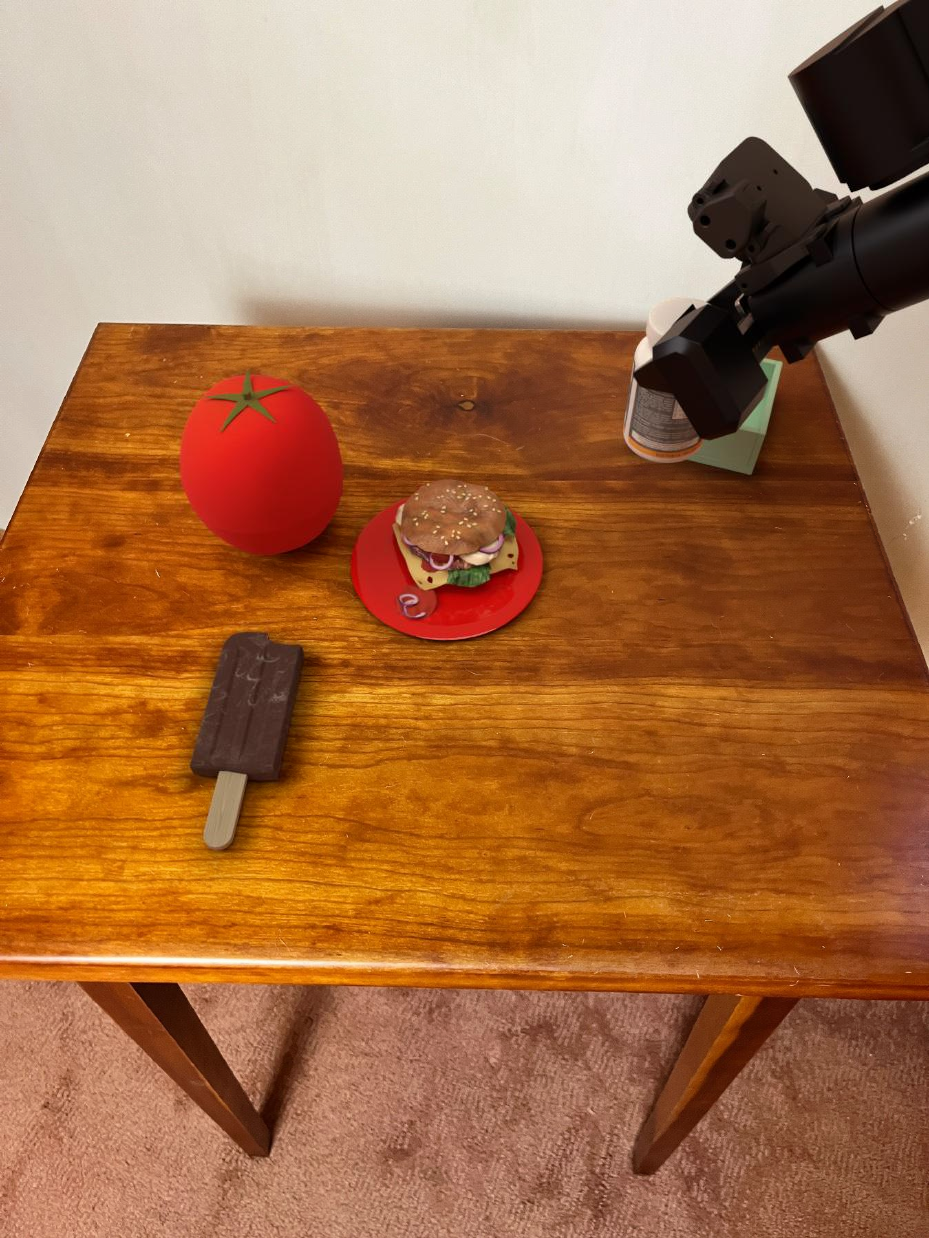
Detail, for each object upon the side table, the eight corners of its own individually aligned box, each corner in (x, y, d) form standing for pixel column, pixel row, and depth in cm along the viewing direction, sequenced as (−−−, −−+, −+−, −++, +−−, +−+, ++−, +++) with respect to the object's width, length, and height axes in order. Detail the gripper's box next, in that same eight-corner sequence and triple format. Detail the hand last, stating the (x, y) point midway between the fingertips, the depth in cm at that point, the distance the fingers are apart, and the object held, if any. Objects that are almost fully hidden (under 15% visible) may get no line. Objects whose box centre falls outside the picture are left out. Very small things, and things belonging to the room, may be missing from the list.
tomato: (343, 590, 65) (319, 460, 55) (193, 585, 66) (141, 456, 55) (360, 477, 72) (342, 342, 62) (224, 473, 72) (183, 338, 62)
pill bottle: (718, 453, 64) (752, 333, 56) (646, 476, 62) (670, 357, 54) (676, 403, 67) (703, 283, 59) (606, 424, 66) (624, 304, 58)
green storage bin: (768, 403, 77) (783, 361, 73) (751, 475, 72) (765, 434, 68) (663, 379, 79) (672, 338, 75) (639, 448, 74) (648, 407, 70)
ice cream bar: (262, 857, 54) (307, 646, 63) (256, 846, 52) (303, 633, 61) (174, 850, 54) (231, 642, 63) (167, 839, 53) (226, 628, 61)
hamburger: (332, 518, 69) (321, 461, 65) (505, 477, 72) (508, 419, 67) (378, 665, 62) (370, 612, 57) (571, 614, 64) (579, 559, 59)
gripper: (883, 42, 49) (666, 182, 62) (725, 195, 40) (510, 321, 53) (967, 227, 52) (745, 322, 65) (839, 404, 44) (612, 475, 56)
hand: (660, 354), depth 60 cm, fingers closed on pill bottle, 6 cm apart
